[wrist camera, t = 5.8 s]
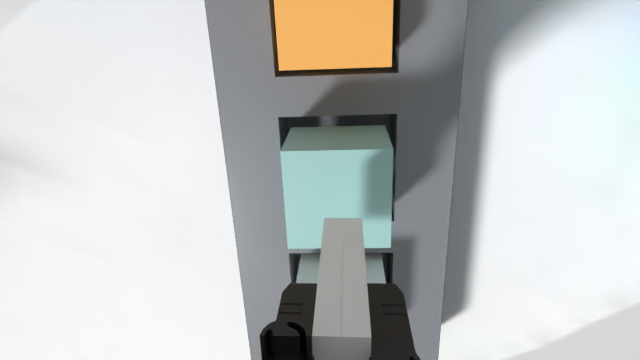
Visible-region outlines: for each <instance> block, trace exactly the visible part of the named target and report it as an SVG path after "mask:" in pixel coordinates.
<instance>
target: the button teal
mask: <svg viewBox="0 0 640 360" xmlns="http://www.w3.org/2000/svg"><path fill="white" fill-rule="evenodd" d="M280 155H281V168H282V181H283V193H284V206H285V219H286V232H287V244H288V249H316V248H321V243H322V234H323V224H324V218H362V226H363V238H364V248H391V220H392V182H393V147H392V144H391V141H390V138H389V136H388V133H387V130H386V127H385V125H367V126H328V127H291V129H290V131H289V133H288V135H287V137H286V140H285V142H284V144H283V146H282V149H281V151H280Z"/></svg>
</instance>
